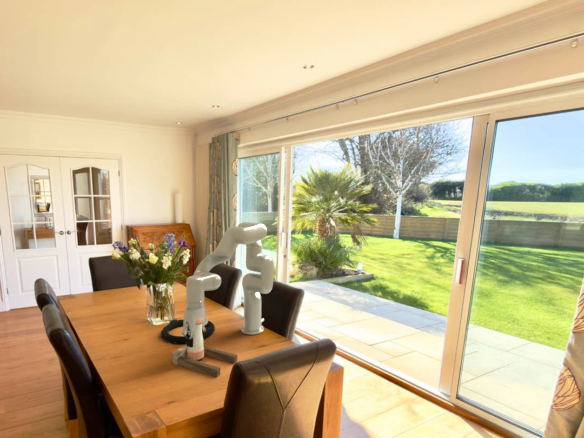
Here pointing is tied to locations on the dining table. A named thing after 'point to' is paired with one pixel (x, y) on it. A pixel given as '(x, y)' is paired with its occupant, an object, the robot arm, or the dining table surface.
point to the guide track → (183, 361)
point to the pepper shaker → (197, 343)
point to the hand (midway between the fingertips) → (195, 342)
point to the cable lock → (182, 339)
